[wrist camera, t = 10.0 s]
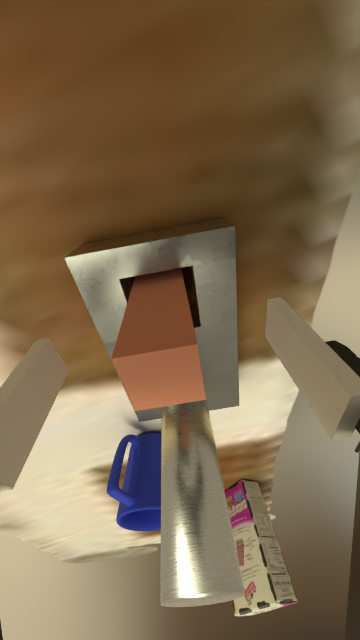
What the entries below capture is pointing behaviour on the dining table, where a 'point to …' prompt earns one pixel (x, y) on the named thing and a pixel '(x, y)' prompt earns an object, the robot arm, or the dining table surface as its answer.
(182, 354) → the orange rectangular block
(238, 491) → the candy bar box
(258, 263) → the dining table surface
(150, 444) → the mug
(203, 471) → the gray socket post base
